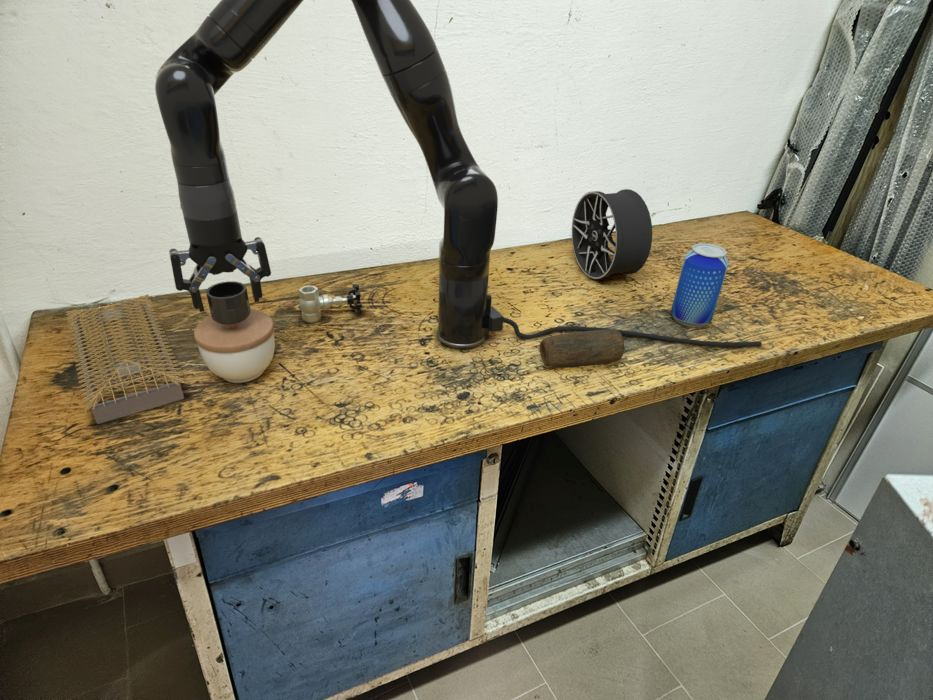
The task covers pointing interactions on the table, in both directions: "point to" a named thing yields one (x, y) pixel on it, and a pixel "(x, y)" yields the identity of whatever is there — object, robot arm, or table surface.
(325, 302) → the valve
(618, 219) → the wheel rim
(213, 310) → the dark gray metal cup
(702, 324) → the beer can
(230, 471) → the table surface
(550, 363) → the brown wooden log
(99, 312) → the rafter model
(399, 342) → the table surface
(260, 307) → the table surface
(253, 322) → the lidded bowl
